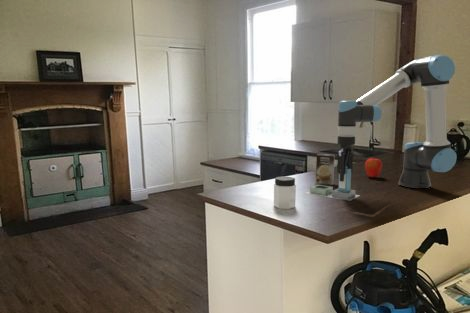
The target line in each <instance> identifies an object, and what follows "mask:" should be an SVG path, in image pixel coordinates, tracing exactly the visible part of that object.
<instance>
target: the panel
mask: <svg viewBox="0 0 470 313" xmlns="http://www.w3.org/2000/svg"><path fill="white" fill-rule="evenodd" d="M333 188H334V186H331V185H324V184H319V185H313V186H310V187H309V191H306V192H305V194H306V195H307V194H308V195H314V196H320V197H325V198H326V197H327V198H332V199H338V200H342V201H352V200H355V199H357V198H359V197H360V196H361V195H360V194H356V193H357V192H356V190H354V189H350V192H348V193H346V192H340V191H338V188H336V189H334V190H333Z"/></svg>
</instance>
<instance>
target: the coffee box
mask: <svg viewBox="0 0 470 313" xmlns="http://www.w3.org/2000/svg"><path fill="white" fill-rule="evenodd" d="M335 158H336V155H335V154H332V153H331V154H330V153H329V154H328V153H317V154H316V161H315V162H316V165H315V184H314V186H316V185H330V186H331V185H334V182H335V181H334V179H335V162H336V161H335Z"/></svg>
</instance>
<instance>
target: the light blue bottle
mask: <svg viewBox="0 0 470 313" xmlns="http://www.w3.org/2000/svg"><path fill="white" fill-rule="evenodd" d="M351 171H352V170H351V169H348V166H346V171H345V174H346V189H343V188H339V185H338V187H337V189H338V191H340V192H346V193H348V192H350V190H351V183H352V182H351V181H352V172H351ZM339 178H340V174H338V179H339Z"/></svg>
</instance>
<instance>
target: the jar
mask: <svg viewBox="0 0 470 313" xmlns="http://www.w3.org/2000/svg"><path fill="white" fill-rule="evenodd" d="M296 192H297V185H296V178H295V177H292V176H277V177H275V180H274V184H273V206H274V207H276V208H277V209H280V210H291V209H293V208H295V207H296V200H297V199H296V194H297V193H296Z"/></svg>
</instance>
